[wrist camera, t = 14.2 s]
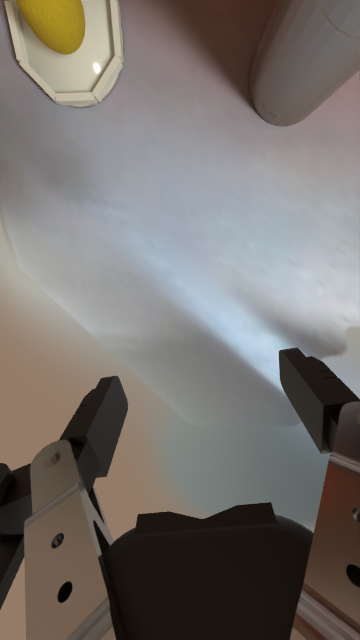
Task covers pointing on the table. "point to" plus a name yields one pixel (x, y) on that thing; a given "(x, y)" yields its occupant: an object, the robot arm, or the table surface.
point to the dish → (74, 55)
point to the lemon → (56, 22)
